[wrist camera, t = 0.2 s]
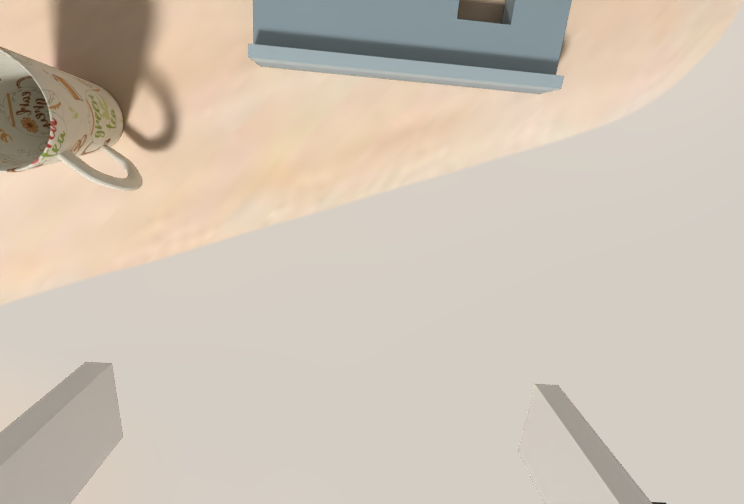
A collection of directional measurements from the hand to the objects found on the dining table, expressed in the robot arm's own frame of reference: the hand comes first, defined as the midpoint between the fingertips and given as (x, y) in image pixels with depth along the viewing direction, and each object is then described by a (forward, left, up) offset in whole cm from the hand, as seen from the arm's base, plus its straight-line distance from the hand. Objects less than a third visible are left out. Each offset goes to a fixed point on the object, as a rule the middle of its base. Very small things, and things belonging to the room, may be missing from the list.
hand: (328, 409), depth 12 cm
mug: (-7, -23, -28) cm, 37 cm away
